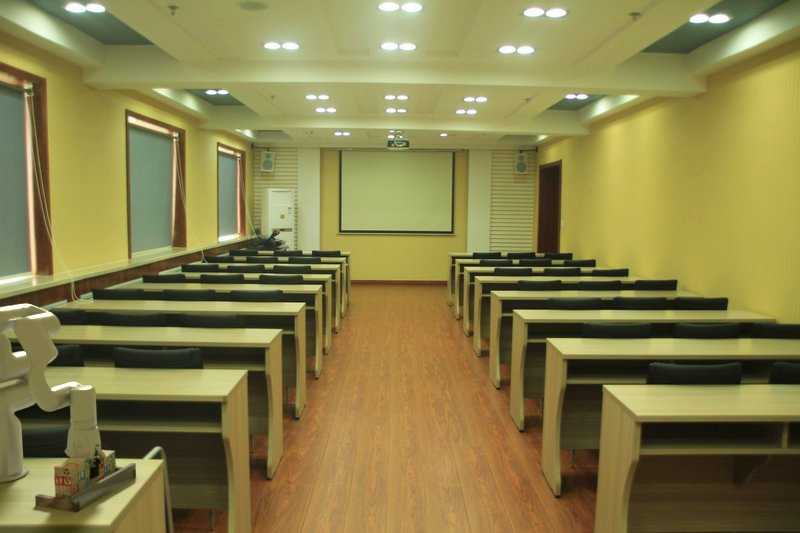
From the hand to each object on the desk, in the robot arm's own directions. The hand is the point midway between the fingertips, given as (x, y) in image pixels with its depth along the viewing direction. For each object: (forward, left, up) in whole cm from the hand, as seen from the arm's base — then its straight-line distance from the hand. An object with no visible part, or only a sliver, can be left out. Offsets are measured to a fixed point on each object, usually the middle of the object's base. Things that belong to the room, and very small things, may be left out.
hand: (85, 475), depth 202 cm
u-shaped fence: (+1, 0, -5) cm, 5 cm away
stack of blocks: (0, 0, -5) cm, 5 cm away
